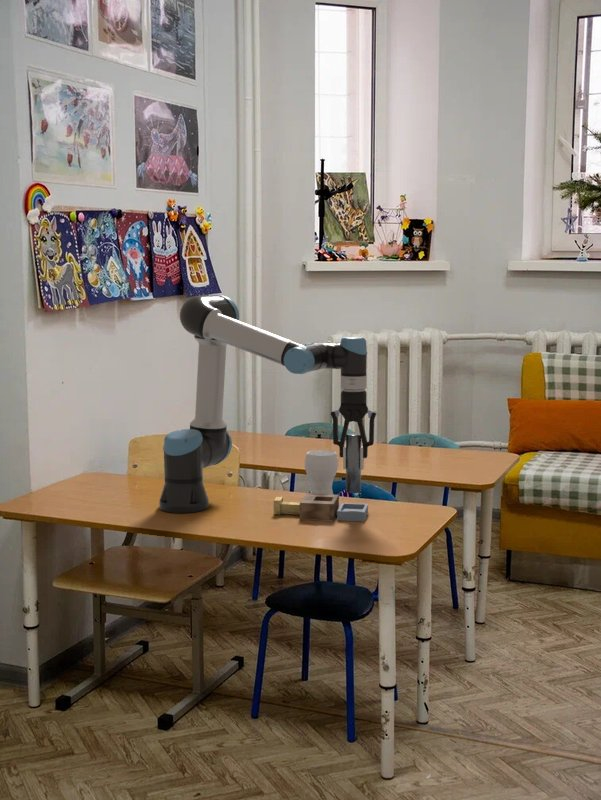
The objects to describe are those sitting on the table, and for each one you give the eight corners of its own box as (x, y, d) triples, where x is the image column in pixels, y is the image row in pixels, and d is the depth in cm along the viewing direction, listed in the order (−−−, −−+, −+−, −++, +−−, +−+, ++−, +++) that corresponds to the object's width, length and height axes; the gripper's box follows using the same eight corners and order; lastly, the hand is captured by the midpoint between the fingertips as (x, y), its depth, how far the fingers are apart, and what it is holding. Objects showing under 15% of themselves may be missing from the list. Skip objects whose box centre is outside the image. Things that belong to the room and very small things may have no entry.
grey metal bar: (345, 493, 295) (345, 436, 292) (346, 489, 299) (347, 433, 297) (360, 493, 294) (360, 436, 292) (361, 490, 298) (361, 433, 296)
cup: (309, 503, 313) (309, 456, 311) (300, 496, 323) (300, 450, 321) (342, 501, 316) (342, 454, 313) (332, 494, 326) (332, 448, 324)
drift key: (273, 514, 299) (273, 500, 299) (276, 510, 304) (276, 497, 303) (313, 516, 297) (313, 502, 297) (315, 512, 302) (315, 498, 301)
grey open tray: (337, 520, 293) (337, 511, 293) (341, 511, 303) (341, 502, 303) (364, 521, 292) (364, 512, 292) (368, 512, 302) (368, 504, 301)
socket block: (299, 519, 294) (299, 502, 294) (306, 509, 306) (306, 493, 305) (333, 520, 293) (333, 504, 292) (338, 510, 304) (338, 494, 304)
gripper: (322, 391, 290) (322, 470, 293) (382, 392, 287) (381, 472, 290) (326, 387, 297) (326, 465, 301) (384, 388, 294) (384, 466, 298)
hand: (353, 468), depth 295 cm, fingers closed on grey metal bar, 4 cm apart
